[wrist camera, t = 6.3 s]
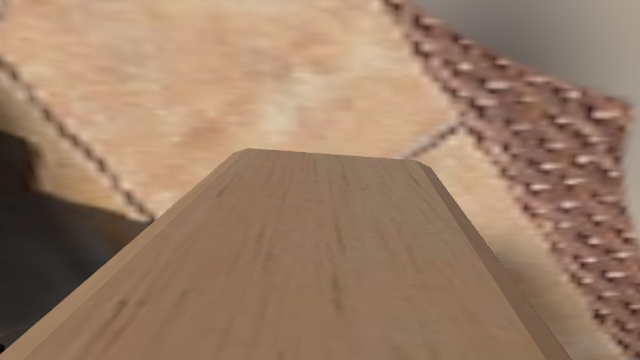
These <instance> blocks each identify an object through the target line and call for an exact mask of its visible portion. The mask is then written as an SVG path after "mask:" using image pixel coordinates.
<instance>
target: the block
mask: <svg viewBox="0 0 640 360" xmlns="http://www.w3.org/2000/svg"><path fill="white" fill-rule="evenodd" d="M0 360H572V359H571V358H570V356H569V355H568V353H567V352H566V351H565V349H564V348H563V347H562V345H561V344H560V343H559V341H558V340H557V339H556V337H555V336H554V334H553V333H552V332H551V330H550V329H549V328H548V326H547V325H546V324H545V322H544V321H543V320H542V318H541V317H540V315H539V314H538V313H537V311H536V310H535V309H534V307H533V306H532V305H531V303H530V302H529V301H528V299H527V298H526V296H525V295H524V294H523V292H522V291H521V290H520V288H519V287H518V286H517V284H516V283H515V282H514V280H513V279H512V277H511V276H510V275H509V273H508V272H507V271H506V269H505V268H504V267H503V265H502V264H501V263H500V261H499V260H498V258H497V257H496V256H495V254H494V253H493V252H492V250H491V249H490V248H489V246H488V245H487V244H486V242H485V241H484V239H483V238H482V237H481V235H480V234H479V233H478V231H477V230H476V229H475V227H474V226H473V225H472V223H471V222H470V220H469V219H468V218H467V216H466V215H465V214H464V212H463V211H462V210H461V208H460V207H459V206H458V204H457V203H456V201H455V200H454V199H453V197H452V196H451V195H450V193H449V192H448V191H447V189H446V188H445V187H444V185H443V184H442V182H441V181H440V180H439V178H438V177H437V176H436V174H435V173H434V172H433V170H432V169H431V168H430V167H428V166H426V165H424V164H422V163H420V162H418V161H414V160H400V159H387V158H373V157H360V156H346V155H332V154H319V153H305V152H291V151H278V150H264V149H251V148H248V149H245V150H242V151H239V152H236V153H233V154H232V155H231V156H230V157H229V158H228V159H226V160H225V161H224V162H223V163H222V164H221V165H219V166H218V167H217V168H216V169H215V170H214V171H212V172H211V173H210V174H209V175H208V176H207V177H205V178H204V179H203V180H202V181H201V182H200V183H199V184H197V185H196V186H195V187H194V188H193V189H192V190H190V191H189V192H188V193H187V194H186V195H185V196H183V197H182V198H181V199H180V200H179V201H178V202H176V203H175V204H174V205H173V206H172V207H171V208H170V209H168V210H167V211H166V212H165V213H164V214H163V215H161V216H160V217H159V218H158V219H157V220H156V221H154V222H153V223H152V224H151V225H150V226H149V227H147V228H146V229H145V230H144V231H143V232H142V233H141V234H139V235H138V236H137V237H136V238H135V239H134V240H132V241H131V242H130V243H129V244H128V245H127V246H125V247H124V248H123V249H122V250H121V251H120V252H118V253H117V254H116V255H115V256H114V257H113V258H112V259H110V260H109V261H108V262H107V263H106V264H105V265H103V266H102V267H101V268H100V269H99V270H98V271H96V272H95V273H94V274H93V275H92V276H91V277H89V278H88V279H87V280H86V281H85V282H84V283H82V284H81V285H80V286H79V287H78V288H77V289H76V290H74V291H73V292H72V293H71V294H70V295H69V296H67V297H66V298H65V299H64V300H63V301H62V302H60V303H59V304H58V305H57V306H56V307H55V308H53V309H52V310H51V311H50V312H49V313H48V314H47V315H45V316H44V317H43V318H42V319H41V320H40V321H38V322H37V323H36V324H35V325H34V326H33V327H31V328H30V329H29V330H28V331H27V332H26V333H24V334H23V335H22V336H21V337H20V338H19V339H18V340H16V341H15V342H14V343H13V344H12V345H11V346H9V347H8V348H7V349H6V350H5V351H4V352H2V353H1V354H0Z"/></svg>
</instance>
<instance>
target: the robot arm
mask: <svg viewBox="0 0 640 360" xmlns="http://www.w3.org/2000/svg"><path fill="white" fill-rule="evenodd" d="M29 329H30V328H28V329H22V330H18V331H14V332H11V333H9V334H7V335H5V336H3V337H0V354H1V353H2V352H4V351H5V350H6V349H7V348H8V347H9V346H11V345H12V344H13V343H14V342H15V341H16V340H18V339H19V338H20V337H21V336H22V335H23V334H24V333H26V332H27V331H28V330H29Z"/></svg>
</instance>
